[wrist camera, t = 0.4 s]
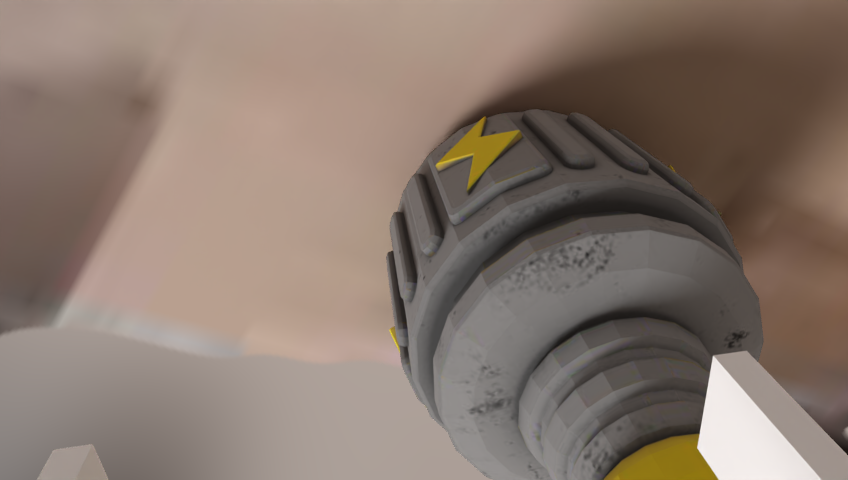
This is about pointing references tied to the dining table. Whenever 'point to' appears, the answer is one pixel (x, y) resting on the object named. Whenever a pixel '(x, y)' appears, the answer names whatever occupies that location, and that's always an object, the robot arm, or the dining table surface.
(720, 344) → the decorative lamp
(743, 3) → the dining table surface
